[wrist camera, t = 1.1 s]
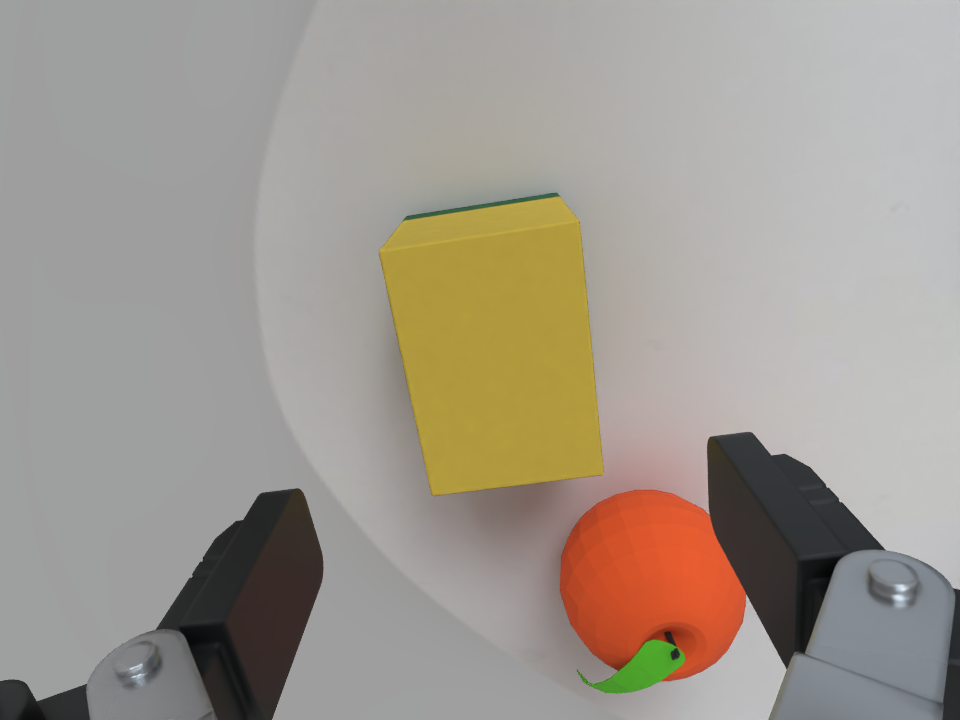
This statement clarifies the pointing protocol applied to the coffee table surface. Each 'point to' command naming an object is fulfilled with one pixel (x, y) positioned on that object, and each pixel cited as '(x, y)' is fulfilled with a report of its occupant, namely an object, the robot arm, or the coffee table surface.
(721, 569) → the clementine
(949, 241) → the coffee table surface
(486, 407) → the sponge
